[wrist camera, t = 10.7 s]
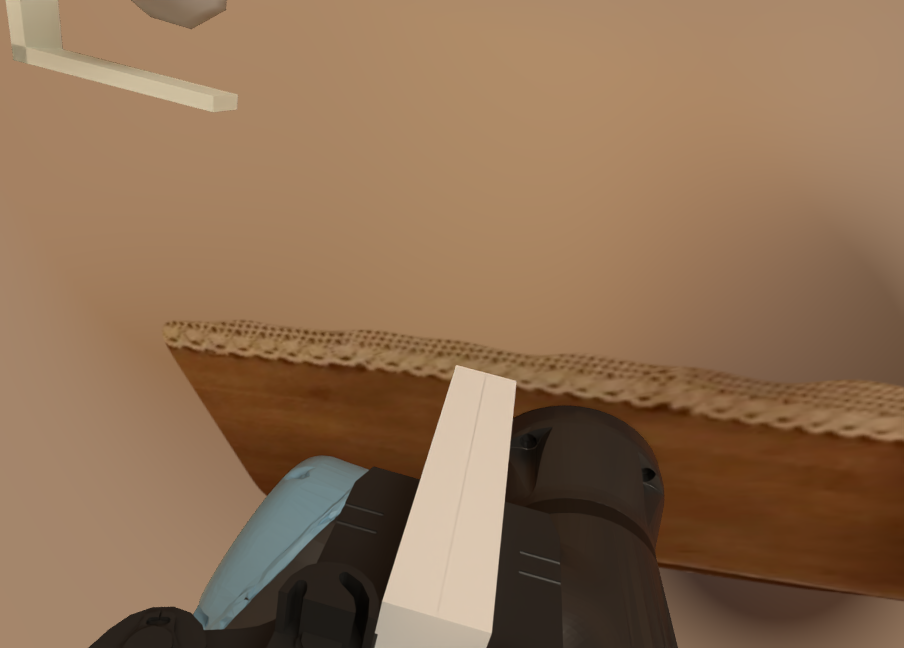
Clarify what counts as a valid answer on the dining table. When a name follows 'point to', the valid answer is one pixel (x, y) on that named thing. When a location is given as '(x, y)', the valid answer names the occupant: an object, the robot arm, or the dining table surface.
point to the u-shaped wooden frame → (97, 60)
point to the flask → (182, 10)
